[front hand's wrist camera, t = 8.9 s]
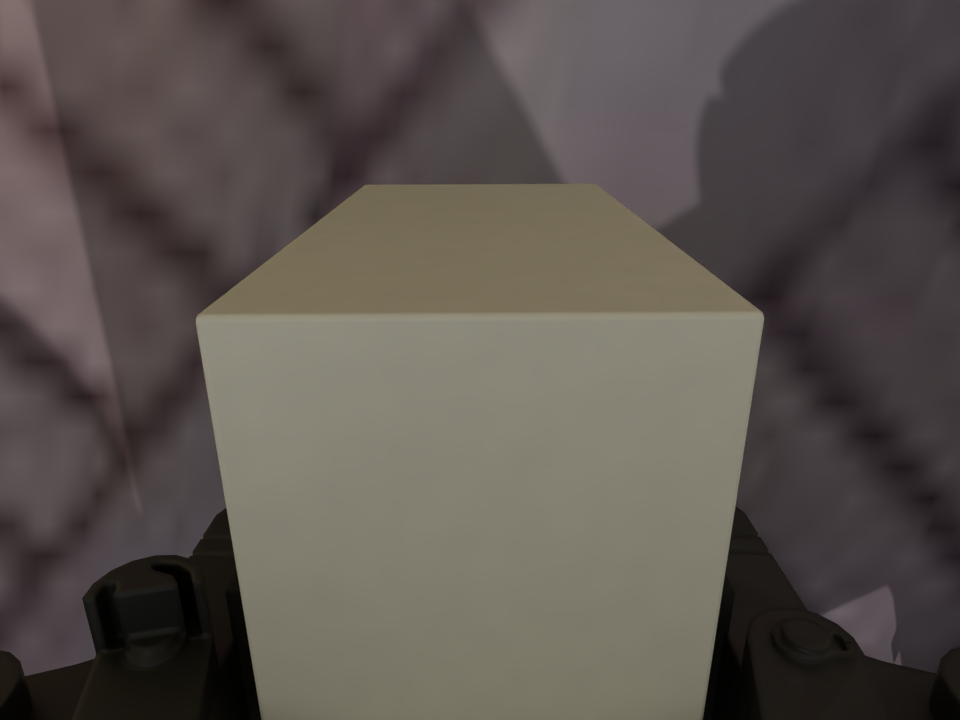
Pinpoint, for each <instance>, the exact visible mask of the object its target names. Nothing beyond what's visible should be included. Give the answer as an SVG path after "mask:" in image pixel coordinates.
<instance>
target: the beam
mask: <svg viewBox="0 0 960 720" xmlns="http://www.w3.org/2000/svg"><path fill="white" fill-rule="evenodd" d="M763 323H764V316H763V312H761V311H760V310H759V309H757V308H756V307H755V306H754V305H752V304H751V303H750V302H748V301H747V300H746V299H744V298H743V297H742V296H741V295H739V294H738V293H737V292H735V291H734V290H733V289H731V288H730V287H729V286H728V285H726V284H725V283H724V282H722V281H721V280H720V279H718V278H717V277H716V276H715V275H713V274H712V273H711V272H709V271H708V270H707V269H705V268H704V267H703V266H702V265H700V264H699V263H698V262H696V261H695V260H694V259H692V258H691V257H690V256H689V255H687V254H686V253H685V252H683V251H682V250H681V249H679V248H678V247H677V246H676V245H674V244H673V243H672V242H670V241H669V240H668V239H666V238H665V237H664V236H663V235H661V234H660V233H659V232H657V231H656V230H655V229H653V228H652V227H651V226H650V225H648V224H647V223H646V222H644V221H643V220H642V219H640V218H639V217H638V216H637V215H635V214H634V213H633V212H631V211H630V210H629V209H628V208H626V207H625V206H624V205H622V204H621V203H620V202H618V201H617V200H616V199H615V198H613V197H612V196H611V195H609V194H608V193H607V192H605V191H604V190H603V189H602V188H600V187H599V186H598V185H596V184H425V185H365V186H363V187H362V188H361V189H359V190H358V191H357V192H355V193H354V194H353V195H352V196H350V197H349V198H348V199H346V200H345V201H344V202H343V203H341V204H340V205H339V206H337V207H336V208H335V209H334V210H332V211H331V212H330V213H328V214H327V215H326V216H325V217H323V218H322V219H321V220H319V221H318V222H317V223H315V224H314V225H313V226H312V227H310V228H309V229H308V230H306V231H305V232H304V233H303V234H301V235H300V236H299V237H297V238H296V239H295V240H294V241H292V242H291V243H290V244H288V245H287V246H286V247H285V248H283V249H282V250H281V251H279V252H278V253H277V254H276V255H274V256H273V257H272V258H270V259H269V260H268V261H267V262H265V263H264V264H263V265H261V266H260V267H259V268H258V269H256V270H255V271H254V272H252V273H251V274H250V275H249V276H247V277H246V278H245V279H243V280H242V281H241V282H239V283H238V284H237V285H236V286H234V287H233V288H232V289H230V290H229V291H228V292H227V293H225V294H224V295H223V296H221V297H220V298H219V299H218V300H216V301H215V302H214V303H212V304H211V305H210V306H209V307H207V308H206V309H205V310H203V311H202V312H201V313H200V314H198V315H197V318H196V327H197V333H198V339H199V345H200V351H201V357H202V363H203V369H204V375H205V381H206V387H207V393H208V399H209V405H210V411H211V417H212V423H213V429H214V436H215V442H216V448H217V454H218V460H219V466H220V472H221V478H222V484H223V490H224V496H225V502H226V508H227V514H228V520H229V526H230V532H231V538H232V544H233V550H234V556H235V563H236V569H237V575H238V581H239V587H240V593H241V599H242V605H243V611H244V617H245V623H246V629H247V635H248V641H249V647H250V653H251V659H252V665H253V671H254V677H255V683H256V690H257V696H258V702H259V708H260V714H261V720H703V714H704V708H705V701H706V695H707V688H708V682H709V675H710V669H711V662H712V656H713V649H714V643H715V636H716V629H717V623H718V616H719V610H720V603H721V597H722V590H723V584H724V577H725V571H726V564H727V558H728V551H729V545H730V538H731V532H732V525H733V519H734V512H735V506H736V499H737V493H738V486H739V480H740V473H741V467H742V460H743V454H744V447H745V441H746V434H747V428H748V421H749V414H750V408H751V401H752V395H753V388H754V382H755V375H756V369H757V362H758V356H759V349H760V343H761V336H762V330H763Z"/></svg>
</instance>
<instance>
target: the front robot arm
mask: <svg viewBox="0 0 960 720" xmlns="http://www.w3.org/2000/svg"><path fill="white" fill-rule="evenodd" d="M82 599H83V603H84V607H85V611H86V615H87V619H88V623H89V626H90V630H91V634H92V638H93V642H94V646H95V650H96V657H95V659H93V660H89V661H86V662H83V663H80V664H76V665H72V666H68V667H64V668H59V669H55V670H51V671H47V672H42V673H38V674H34V675H29V676H25V675H24V672H23V669H22V666H21V662H20V661H19V660H18V659H17V658H16V657H15V656H14V655H12V654H11V653H10V652H5V651H0V720H261V714H260V708H259V702H258V696H257V690H256V683H255V677H254V671H253V665H252V659H251V653H250V647H249V641H248V635H247V629H246V623H245V617H244V611H243V605H242V599H241V593H240V587H239V581H238V575H237V569H236V563H235V556H234V550H233V544H232V538H231V532H230V526H229V520H228V514H227V508H225V509H224V510H223V511H221V512H220V513H219V514H217V515H216V516H215V518H214V520H213V521H212V523H211V524H210V526H209V527H208V529H207V530H206V532H205V534H204V535H203V539H201V540H200V541H199V543H198V545H197V546H196V548H195V549H194V551H193V556H190V557H189V559H188V558H185V557H181V556H177V555H159V556H151V557H147V558H143V559H139V560H135V561H132V562H129V563H127V564H125V565H123V566H120V567H118V568H116V569H114V570H111V571H110V572H109V573H107V574H106V575H105V576H103V577H102V578H100V579H99V580H98V581H96V582H95V583H94V584H93V585H92V586H91V587H90V589H89V590H88V592H87V593H86V594H85V596H84V597H83V598H82ZM703 720H960V648H958V649H952V650H950V651H949V652H948V653H947V654H946V655H945V656H944V657H943V658H942V659H941V661H940V665H939V668H938V671H937V674H935V673H930V672H926V671H922V670H917V669H913V668H909V667H905V666H900V665H896V664H892V663H887V662H884V661H881V660H877V659H874V658H871V657H867V656H865V655H864V653H863V652H862V650H861V649H860V647H859V646H858V644H857V642H856V641H855V639H854V638H853V637H852V636H851V635H850V634H848V633H847V632H846V631H845V630H844V629H842V628H841V627H840V626H839V625H838V624H836V623H834V622H832V621H830V620H828V619H826V618H824V617H822V616H820V615H819V614H817V613H813V612H810V611H807V609H806V608H805V606H804V604H803V603H802V601H801V600H800V598H799V597H798V595H797V594H796V592H795V590H794V589H793V587H792V586H791V584H790V583H789V581H788V580H787V578H786V576H785V575H784V573H783V572H782V570H781V569H780V567H779V566H778V564H777V562H776V561H775V559H774V558H773V556H772V555H771V554H769V553H768V549H767V547H766V545H765V544H764V542H763V541H762V539H761V538H760V537H758V533H757V531H756V530H755V528H754V527H753V525H752V524H751V522H750V521H749V519H748V517H747V516H746V514H745V513H744V512H742V511H741V510H740V509H738V508H737V507H736V506H735V512H734V519H733V525H732V532H731V538H730V545H729V551H728V558H727V564H726V571H725V577H724V584H723V590H722V597H721V603H720V610H719V616H718V623H717V629H716V636H715V643H714V649H713V656H712V662H711V669H710V675H709V682H708V688H707V695H706V701H705V708H704V714H703Z"/></svg>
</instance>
